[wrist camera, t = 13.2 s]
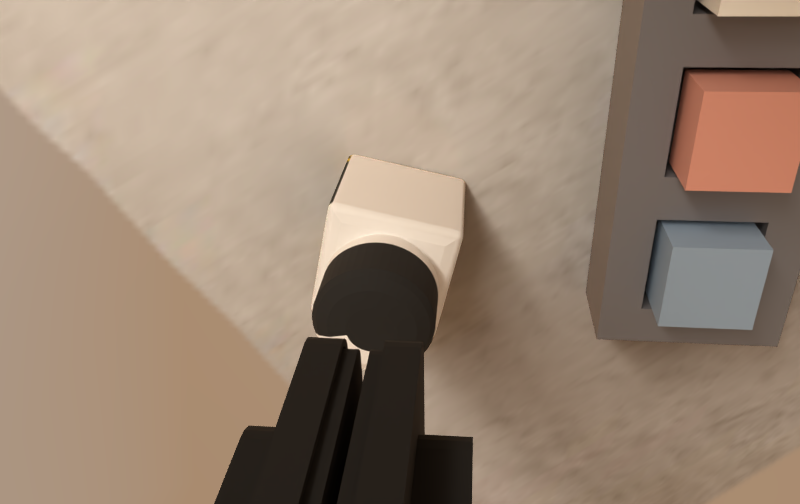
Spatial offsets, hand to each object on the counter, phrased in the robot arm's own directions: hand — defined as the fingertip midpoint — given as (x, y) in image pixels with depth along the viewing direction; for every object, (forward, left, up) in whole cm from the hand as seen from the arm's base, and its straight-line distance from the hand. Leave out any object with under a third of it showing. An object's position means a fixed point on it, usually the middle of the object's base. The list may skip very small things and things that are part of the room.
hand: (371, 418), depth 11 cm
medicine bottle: (+13, -3, -32) cm, 35 cm away
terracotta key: (+5, +14, -28) cm, 32 cm away
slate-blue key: (+13, +14, -28) cm, 34 cm away
